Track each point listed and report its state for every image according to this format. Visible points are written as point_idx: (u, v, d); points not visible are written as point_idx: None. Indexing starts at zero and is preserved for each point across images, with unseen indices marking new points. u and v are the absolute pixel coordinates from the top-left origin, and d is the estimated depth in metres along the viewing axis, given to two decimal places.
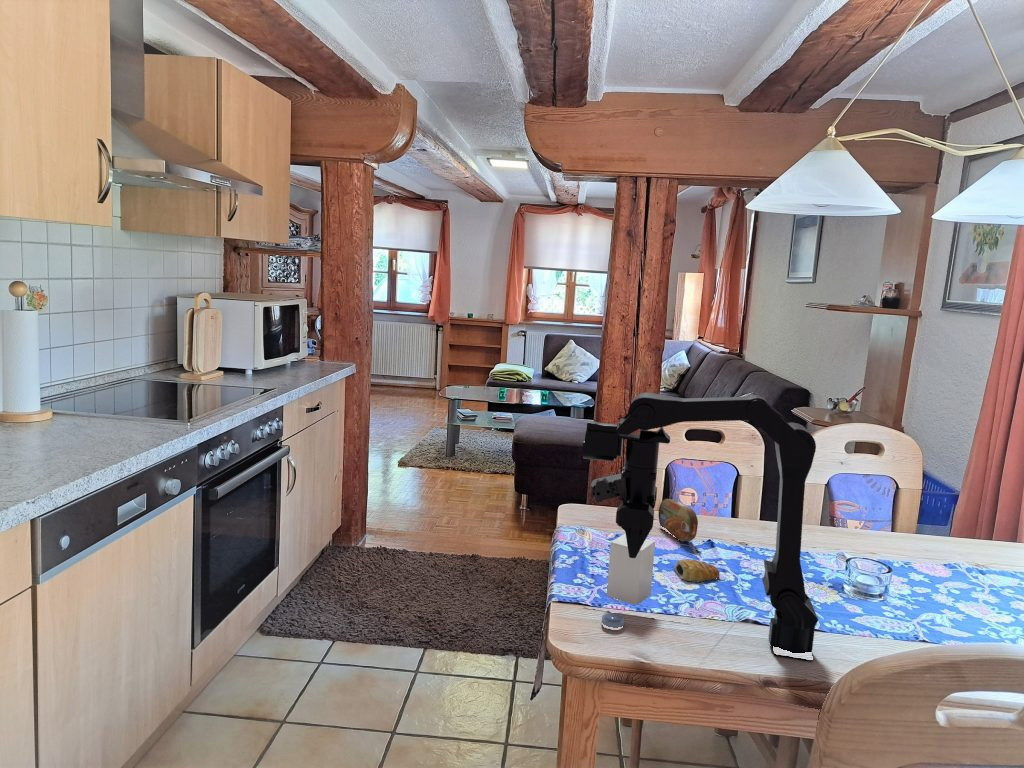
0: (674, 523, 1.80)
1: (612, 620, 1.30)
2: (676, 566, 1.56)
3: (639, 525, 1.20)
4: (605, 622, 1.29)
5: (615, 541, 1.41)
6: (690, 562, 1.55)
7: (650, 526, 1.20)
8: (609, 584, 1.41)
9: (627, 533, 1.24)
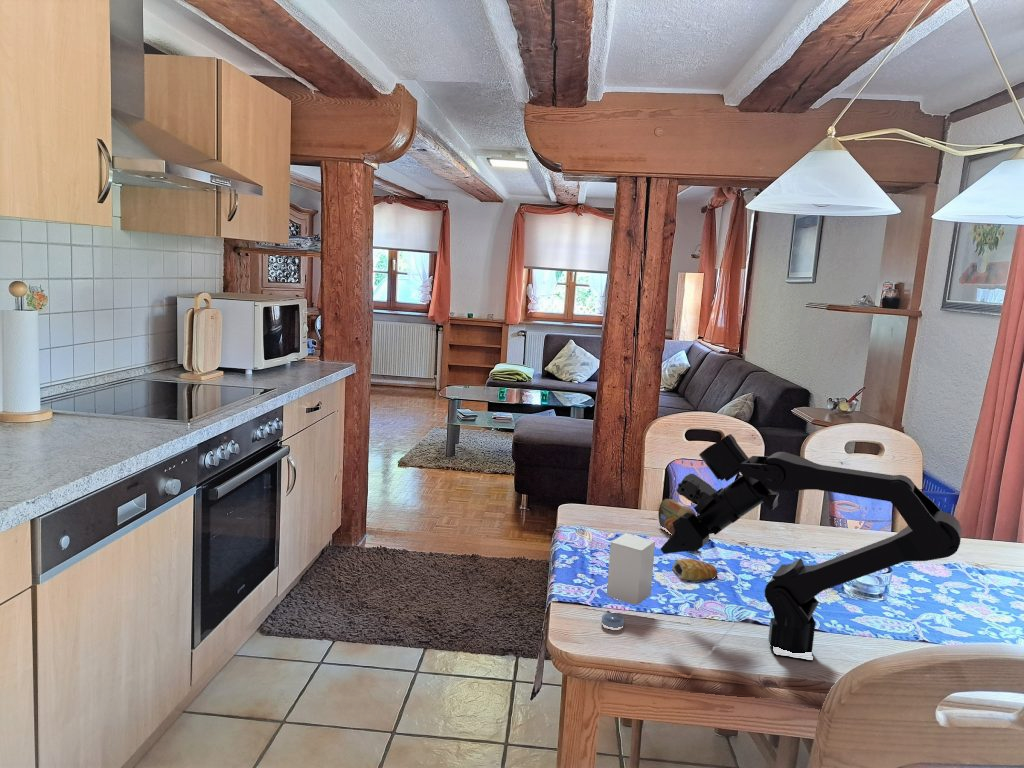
0: None
1: (612, 620, 1.30)
2: (674, 565, 1.56)
3: (686, 541, 1.25)
4: (605, 622, 1.29)
5: (615, 541, 1.41)
6: (688, 561, 1.55)
7: (693, 550, 1.25)
8: (609, 584, 1.41)
9: (674, 535, 1.29)
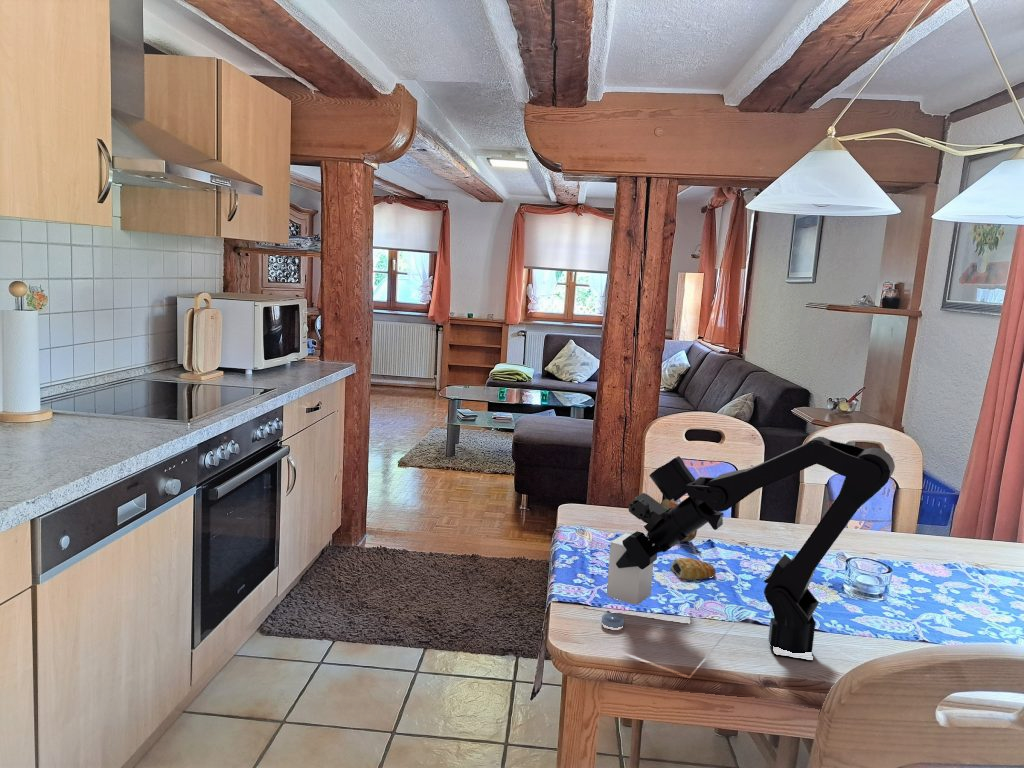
0: None
1: (612, 620, 1.30)
2: (673, 565, 1.57)
3: (634, 559, 1.31)
4: (605, 622, 1.29)
5: (615, 541, 1.41)
6: (687, 560, 1.56)
7: (641, 567, 1.31)
8: (609, 584, 1.41)
9: (627, 551, 1.36)
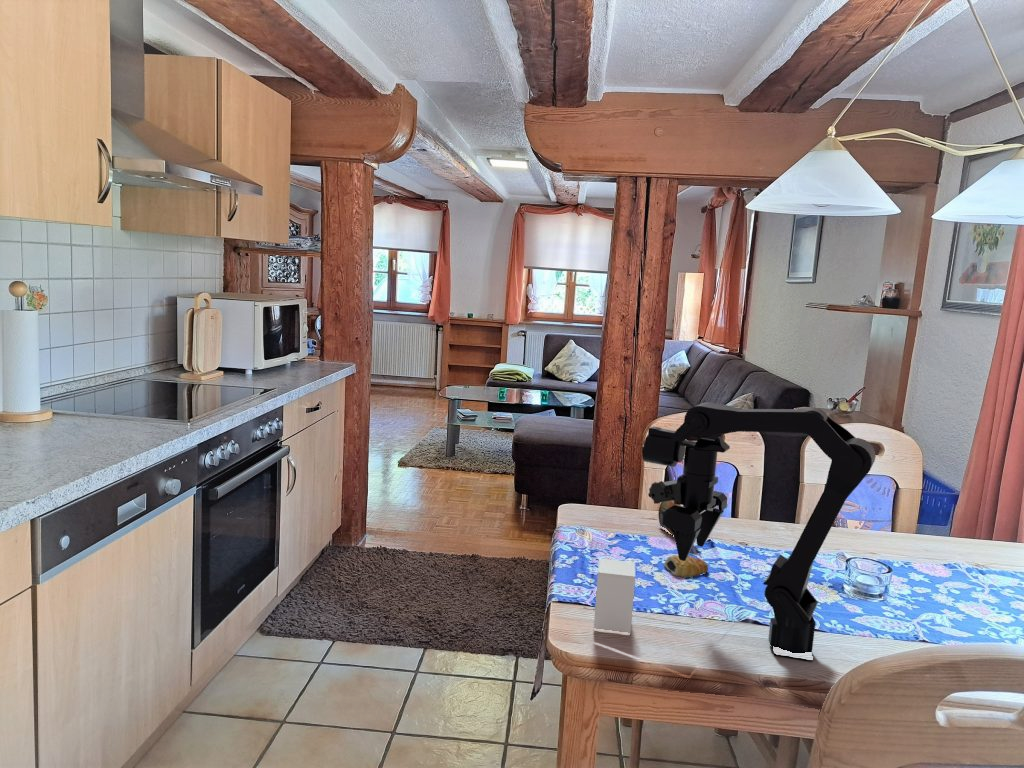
0: None
1: None
2: (667, 562, 1.58)
3: (681, 528, 1.24)
4: None
5: (601, 570, 1.27)
6: None
7: (691, 530, 1.24)
8: (596, 618, 1.28)
9: (675, 535, 1.29)
